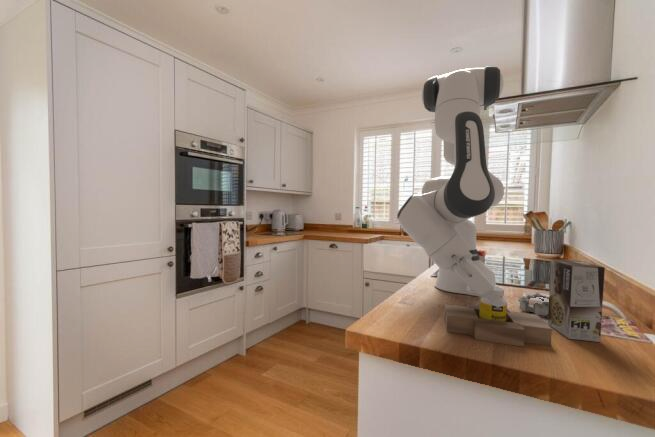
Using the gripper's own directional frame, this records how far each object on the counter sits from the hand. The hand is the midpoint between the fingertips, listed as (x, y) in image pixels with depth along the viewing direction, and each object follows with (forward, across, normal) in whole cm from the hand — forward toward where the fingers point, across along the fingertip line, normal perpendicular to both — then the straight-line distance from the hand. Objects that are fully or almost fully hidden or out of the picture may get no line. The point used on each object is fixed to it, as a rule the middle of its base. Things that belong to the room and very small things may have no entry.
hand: (495, 298), depth 69 cm
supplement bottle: (+5, 0, +6) cm, 8 cm away
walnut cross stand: (+5, 0, +6) cm, 7 cm away
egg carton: (+16, +22, -5) cm, 28 cm away
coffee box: (+17, +6, -7) cm, 19 cm away
